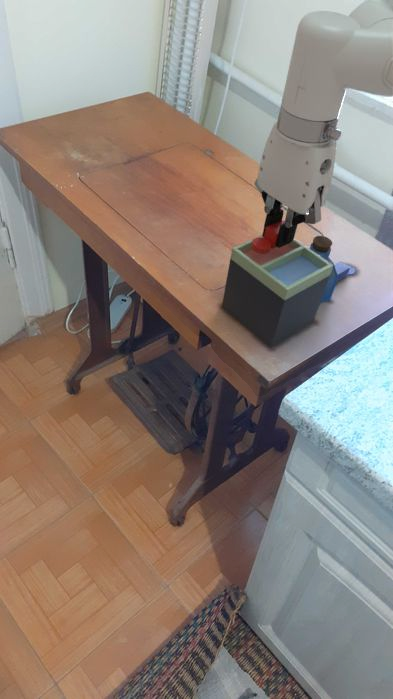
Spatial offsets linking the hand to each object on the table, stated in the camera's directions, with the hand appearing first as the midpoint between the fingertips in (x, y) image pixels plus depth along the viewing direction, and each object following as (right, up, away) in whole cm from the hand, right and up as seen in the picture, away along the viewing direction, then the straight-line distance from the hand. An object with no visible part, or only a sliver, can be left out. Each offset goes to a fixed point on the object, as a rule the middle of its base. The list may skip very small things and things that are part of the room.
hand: (277, 238), depth 84 cm
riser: (-1, -12, +8) cm, 14 cm away
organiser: (0, -4, 0) cm, 4 cm away
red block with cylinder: (-1, -1, 0) cm, 2 cm away
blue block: (+14, -4, +18) cm, 23 cm away
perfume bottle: (+7, -8, +13) cm, 17 cm away
